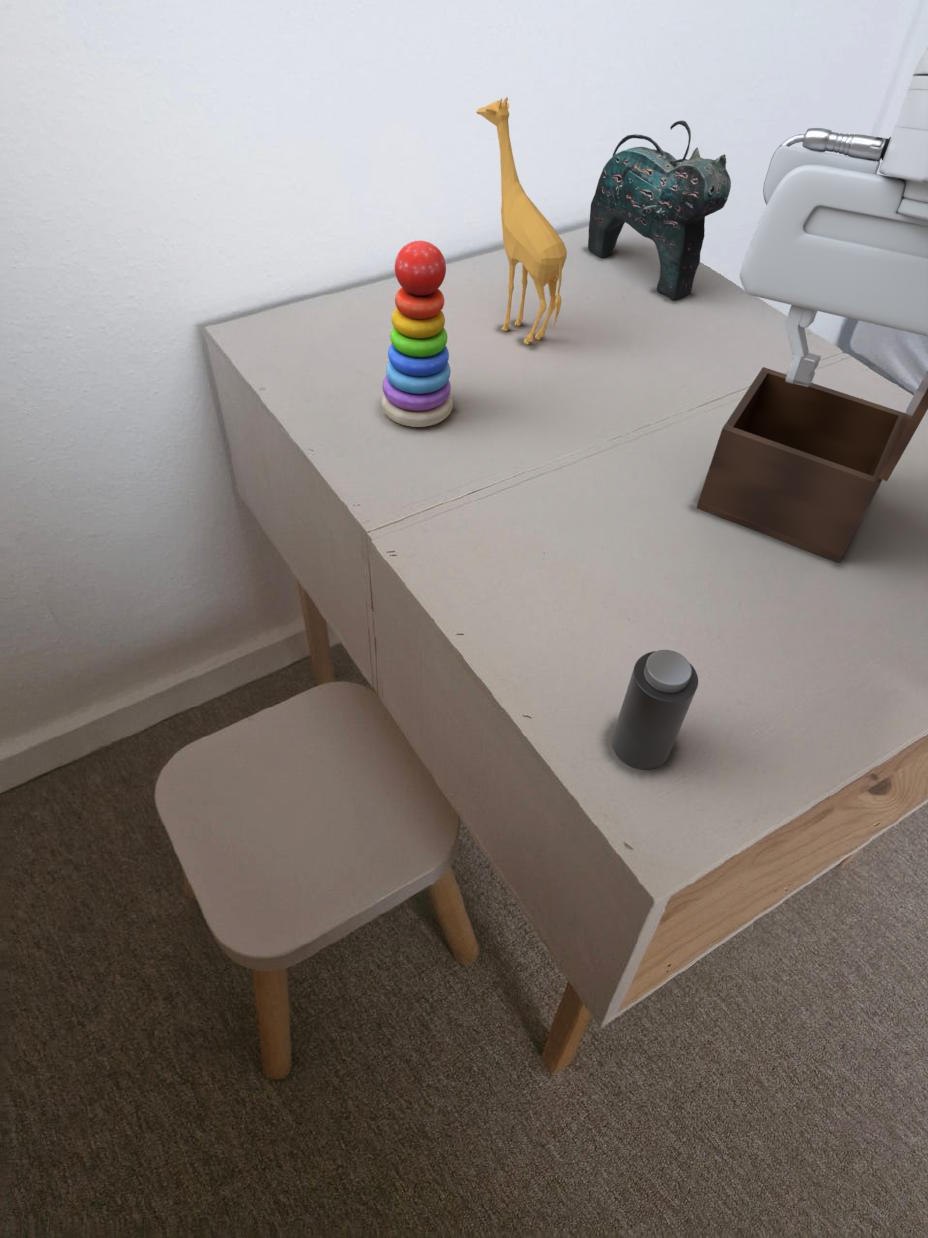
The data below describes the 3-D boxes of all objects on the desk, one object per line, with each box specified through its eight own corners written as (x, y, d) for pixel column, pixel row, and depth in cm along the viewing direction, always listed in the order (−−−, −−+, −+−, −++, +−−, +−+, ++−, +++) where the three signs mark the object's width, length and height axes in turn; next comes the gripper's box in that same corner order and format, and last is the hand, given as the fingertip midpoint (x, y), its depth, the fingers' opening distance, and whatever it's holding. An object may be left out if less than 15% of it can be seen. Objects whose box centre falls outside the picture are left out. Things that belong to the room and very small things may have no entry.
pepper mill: (678, 737, 68) (711, 659, 60) (656, 779, 65) (688, 703, 57) (625, 711, 69) (651, 632, 62) (602, 752, 66) (626, 674, 59)
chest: (696, 507, 86) (722, 428, 79) (735, 444, 94) (762, 366, 86) (838, 562, 82) (880, 484, 74) (868, 492, 89) (908, 414, 82)
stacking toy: (451, 432, 93) (458, 266, 79) (378, 429, 93) (372, 262, 79) (453, 391, 98) (460, 229, 84) (384, 388, 98) (379, 224, 84)
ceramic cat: (705, 297, 115) (748, 138, 100) (671, 310, 113) (711, 149, 98) (605, 240, 126) (631, 88, 111) (573, 251, 123) (595, 96, 108)
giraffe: (456, 304, 111) (465, 89, 93) (482, 294, 113) (495, 83, 95) (540, 360, 103) (568, 137, 85) (566, 349, 105) (599, 129, 86)
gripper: (771, 119, 46) (700, 369, 54) (1207, 188, 39) (1056, 465, 47) (791, 123, 51) (723, 352, 59) (1182, 185, 44) (1049, 436, 52)
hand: (873, 403), depth 53 cm, fingers open, 8 cm apart
